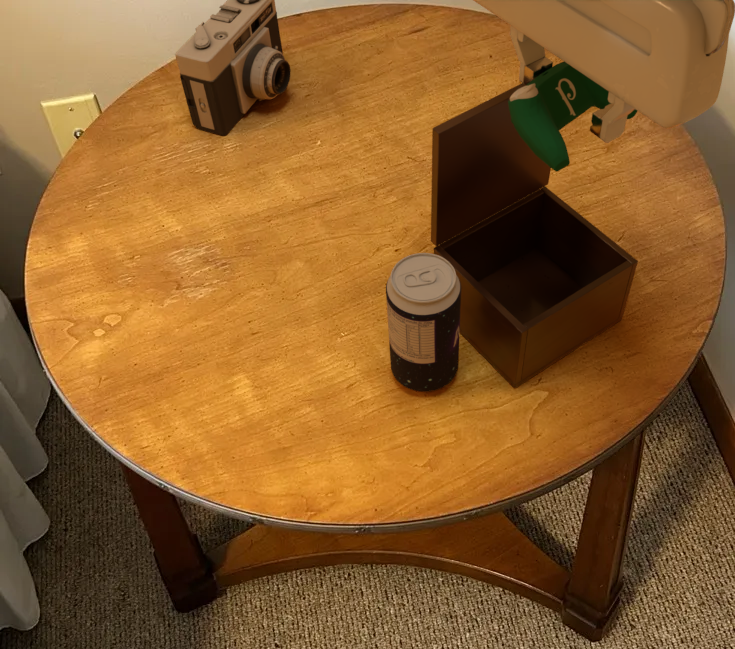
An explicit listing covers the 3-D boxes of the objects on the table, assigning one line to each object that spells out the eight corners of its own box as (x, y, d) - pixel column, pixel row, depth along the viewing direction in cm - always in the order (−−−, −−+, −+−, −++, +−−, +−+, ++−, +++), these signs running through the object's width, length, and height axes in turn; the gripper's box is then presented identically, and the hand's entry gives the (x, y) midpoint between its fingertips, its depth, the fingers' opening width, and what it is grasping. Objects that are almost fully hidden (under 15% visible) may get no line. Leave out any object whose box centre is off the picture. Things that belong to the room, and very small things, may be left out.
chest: (622, 319, 76) (638, 260, 70) (514, 388, 72) (521, 333, 66) (536, 245, 82) (544, 185, 76) (433, 305, 78) (433, 247, 72)
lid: (567, 68, 66) (560, 63, 66) (438, 133, 62) (432, 127, 62) (548, 184, 75) (542, 179, 76) (436, 246, 72) (430, 241, 72)
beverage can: (464, 391, 72) (469, 299, 63) (397, 403, 72) (392, 311, 62) (449, 338, 76) (452, 243, 66) (385, 349, 75) (379, 255, 66)
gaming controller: (612, 122, 64) (574, 49, 63) (649, 107, 61) (609, 30, 60) (529, 183, 61) (487, 108, 60) (563, 171, 57) (519, 91, 56)
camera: (254, 146, 93) (238, 67, 86) (190, 128, 96) (169, 49, 88) (315, 72, 101) (305, -7, 93) (254, 57, 103) (239, -21, 96)
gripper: (783, -37, 45) (717, 167, 56) (523, -164, 56) (509, 27, 67) (697, 7, 43) (645, 210, 54) (445, -133, 54) (444, 58, 65)
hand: (568, 107), depth 60 cm, fingers closed on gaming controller, 6 cm apart
